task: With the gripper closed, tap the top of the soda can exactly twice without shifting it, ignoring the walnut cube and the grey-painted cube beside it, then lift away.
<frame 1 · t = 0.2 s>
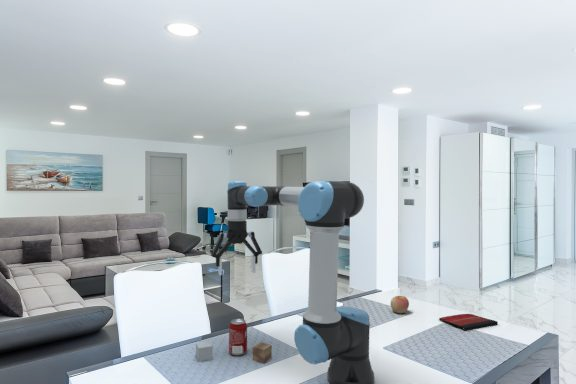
hand: (237, 273, 154), 28 cm above the table, fingers open, 13 cm apart
apple: (399, 312, 195), on the table
grey cube: (204, 358, 142), on the table
soda can: (237, 353, 146), on the table
walnut cube: (262, 359, 141), on the table
binder: (466, 323, 182), on the table
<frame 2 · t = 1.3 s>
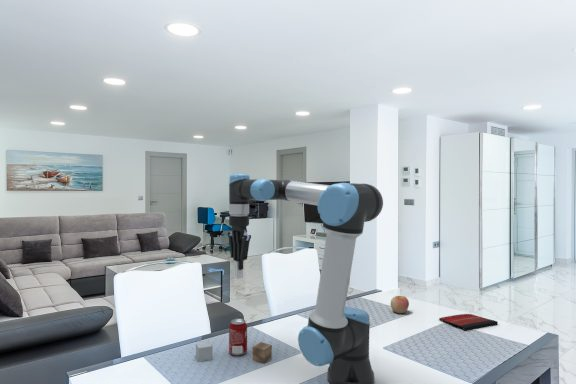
hand: (238, 277, 146), 28 cm above the table, fingers closed
nothing on the table moved.
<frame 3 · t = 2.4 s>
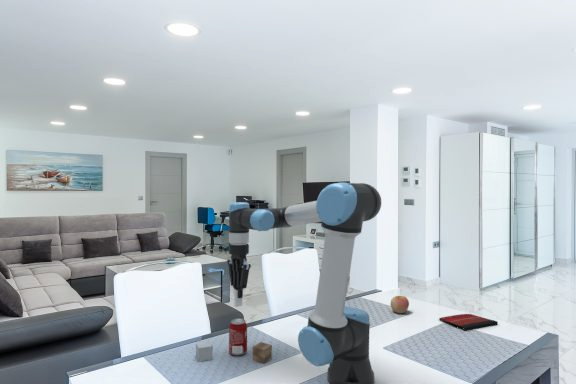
hand: (238, 305, 146), 18 cm above the table, fingers closed
nothing on the table moved.
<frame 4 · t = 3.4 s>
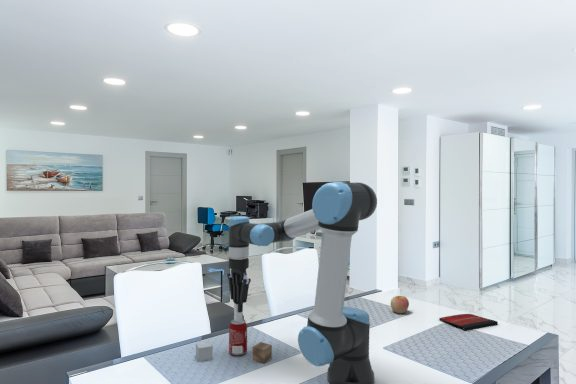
hand: (238, 319, 146), 12 cm above the table, fingers closed
nothing on the table moved.
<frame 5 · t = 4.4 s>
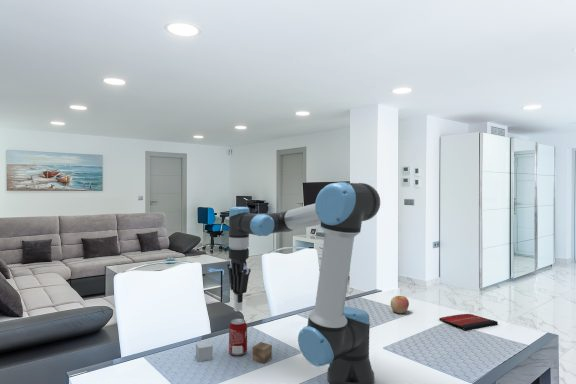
hand: (238, 310, 146), 16 cm above the table, fingers closed
nothing on the table moved.
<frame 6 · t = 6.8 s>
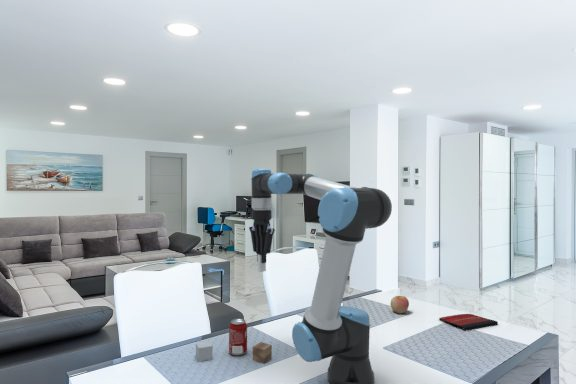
hand: (261, 271, 148), 30 cm above the table, fingers closed
nothing on the table moved.
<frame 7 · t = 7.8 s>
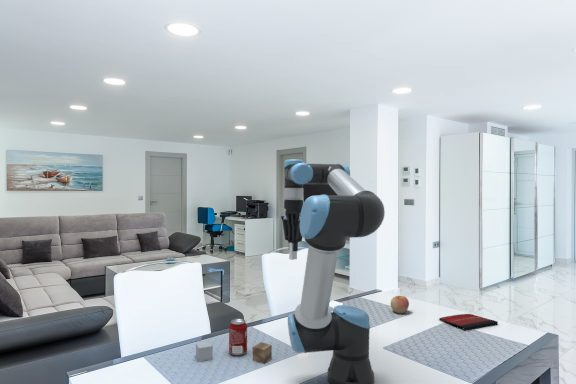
hand: (293, 259, 152), 34 cm above the table, fingers closed
nothing on the table moved.
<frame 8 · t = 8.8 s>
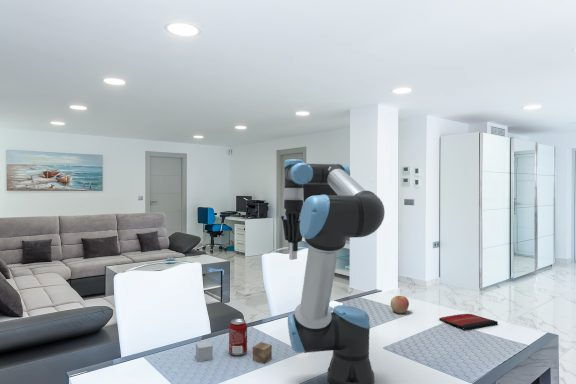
hand: (293, 259, 152), 34 cm above the table, fingers closed
nothing on the table moved.
at the end: soda can moved 0.2 cm from its start; soda can tilted 0°; the gripper is holding nothing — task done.
